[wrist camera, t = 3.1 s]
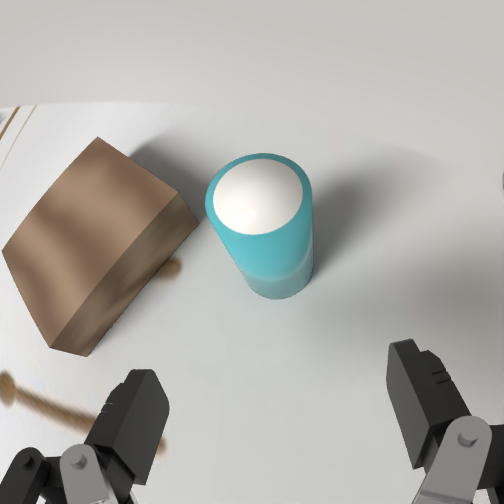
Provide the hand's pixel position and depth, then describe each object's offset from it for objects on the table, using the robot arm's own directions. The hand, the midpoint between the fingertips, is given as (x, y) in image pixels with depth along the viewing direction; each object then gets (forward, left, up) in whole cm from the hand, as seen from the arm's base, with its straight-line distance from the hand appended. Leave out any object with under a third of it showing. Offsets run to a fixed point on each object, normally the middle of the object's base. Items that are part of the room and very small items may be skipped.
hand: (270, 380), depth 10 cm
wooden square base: (+3, -21, -13) cm, 25 cm away
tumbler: (-6, -6, -13) cm, 16 cm away
